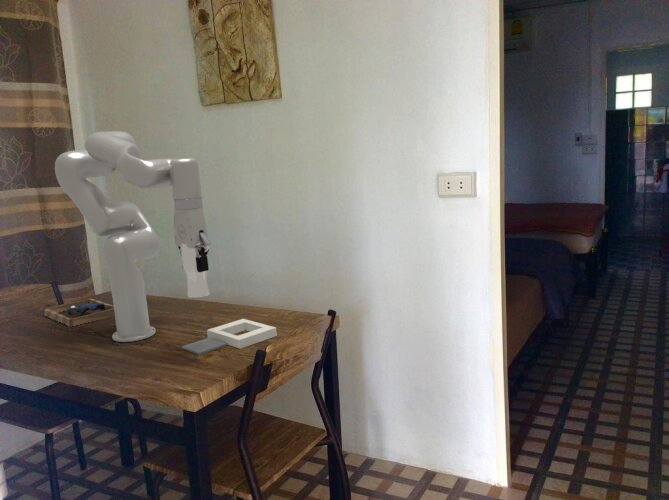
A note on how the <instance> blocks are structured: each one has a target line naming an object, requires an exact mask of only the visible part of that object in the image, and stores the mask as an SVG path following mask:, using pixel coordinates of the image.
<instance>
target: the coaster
mask: <svg viewBox="0 0 669 500" xmlns="http://www.w3.org/2000/svg"><path fill="white" fill-rule="evenodd" d="M227 346H228V345H227V343H224V342H221V341H218V340H215V339H212V338H208V337H207V338H204V339H201V340H198V341H195V342H191V343H188V344H185V345H182V346H181V349H182V350H185V351H188V352H191V353H193V354H196V355H199V356H200V355H203V354H206V353H208V352H212V351H215V350H218V349H221V348H224V347H227Z"/></svg>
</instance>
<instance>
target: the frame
mask: <svg viewBox="0 0 669 500" xmlns="http://www.w3.org/2000/svg"><path fill="white" fill-rule="evenodd" d="M97 303H103V304H104V306H105V311H103V310H104V309H102V310H101V311H97V312H93V313H90V314H85V315H82V316H81V315H80V316H81V317H80V316H76V317H73V318H70V317H69V316H66V315H63V314H61V313H64V312H63V311H66V312H67V308H71V306H75V307H77V305H87V304H97ZM59 312H61V313H59ZM43 315H44V317H46V316H47V317H46V318H48V317H49V318H48V319H50V318H51V320H53V321H55V320H56V321H55V322H57V321H58V322H57V323H59V322H61V323H60V324H62V323H63V324H62V325H64V324H65V325H64V326H66V325H67V327H69V326H70V327H69V328H73V327H72V326H74V327H77V326H76V325H78V326H81V325H80V324H82V325H85V324H84V323H86V324H89V323H93V322H96V320H97V321H100V320H104V319H108V318H111V317H115V313H114V306H113V304H109V303H107V302H103V301H100V300H97V299H93V298H90V297H89V298H85V299H81V300H77V301H73V302H72V301H71V302H69V303H64V304H60V305H59V304H58V305H55V306H51V307H45V308H43ZM92 321H93V322H92ZM88 322H89V323H88Z"/></svg>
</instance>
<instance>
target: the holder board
mask: <svg viewBox="0 0 669 500" xmlns="http://www.w3.org/2000/svg"><path fill="white" fill-rule="evenodd" d="M206 331H207V332H206V334H207V338H212V339H215V340H218V341H221V342H224V343H227V346H231V347H232V348H233V347H234V348H237V349H240V350H242V349H244V348H247V347H249V346H253V345H255V344H258V343H260V342H263V341H267V340H270V339H272V338H275V337H277V336H278V333H277V327H275V326H271V325H269V324H268V325H267V324H265V323H261V322H257V321H253V320H250V319H246V318H240V319H238V320H235V321H231V322H228V323H225V324H221V325H218V326H215V327H211V328H208V329H206ZM245 331H247V332H245ZM241 332H242V334H238V333H241ZM243 332H245V333H243ZM236 334H238V335H236Z"/></svg>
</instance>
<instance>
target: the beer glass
mask: <svg viewBox="0 0 669 500" xmlns="http://www.w3.org/2000/svg"><path fill="white" fill-rule="evenodd" d="M198 245H202V243H201V242H200V243H198ZM198 245H197V246H198ZM180 250H181V255H180V261H181V264H182V266H183V267H182V266H181V267H182V269H183V272H184V275H185V276H184V277H185V281H186V285H187V290H186V296H187V298H190V299H191V298H193V299H196V298H197V299H198V298H204V297H207V296H209V295H210V293H211V292H210V289H209V286H208V280H207V278H208V277H207V276H208V271H203V272H198V271H197V263H196V258H197V254H196V252H195V248H188V247H187V244H186V243H180ZM180 250H179V251H180ZM199 251H201V248H199Z"/></svg>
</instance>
